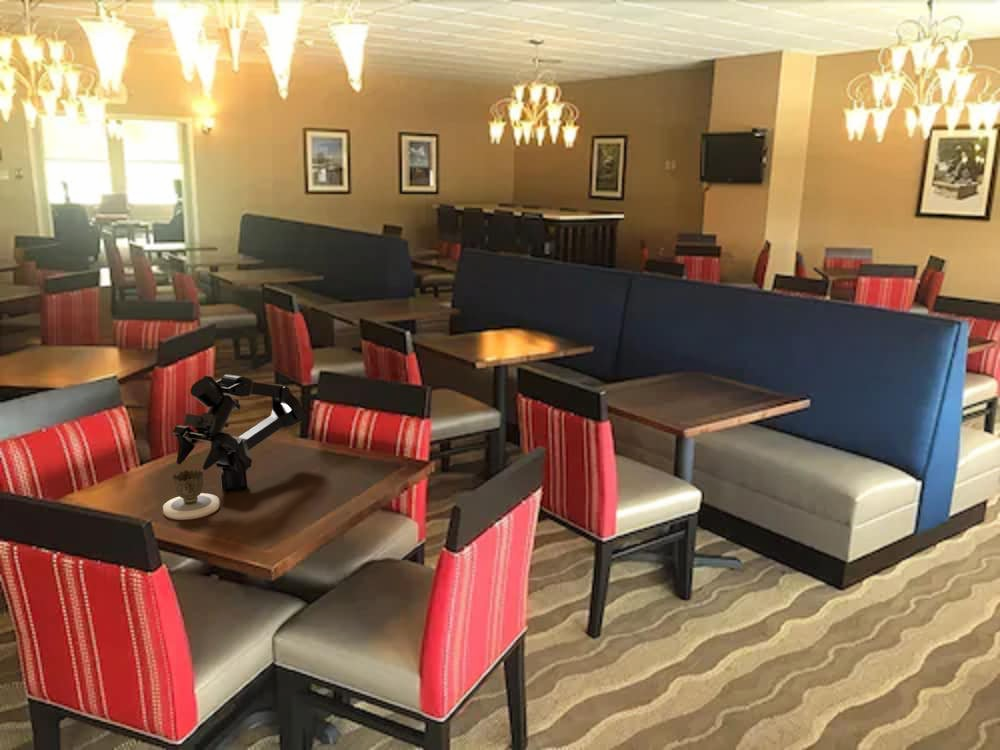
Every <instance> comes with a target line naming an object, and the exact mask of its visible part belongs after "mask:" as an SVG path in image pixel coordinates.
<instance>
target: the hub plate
mask: <svg viewBox="0 0 1000 750" xmlns="http://www.w3.org/2000/svg"><path fill="white" fill-rule="evenodd" d="M197 497H198V500H197V502H196V503H193V504H185V503H184V502H183V498H181V497H180V496H179V495H178V496H177V497H173V498H171V499H170V500H168V501H166V502H165V503H164V504H163V505H162V513H163V515H164V516H165V517H166V518H168V519H171V520H179V521H180V520H182V521H183V520H184V521H185V520H186V521H187V520H194V519H199V518H204V517H207V516H208V515H209V516H210V515H211V514H213V513H215V512H216V511H218V509H220V499H219V497H218V496H217V495H214V494H211V493H206V492H205V493H203V492H201V493H200V495H199V496H197Z"/></svg>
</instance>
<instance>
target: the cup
mask: <svg viewBox="0 0 1000 750" xmlns="http://www.w3.org/2000/svg"><path fill="white" fill-rule="evenodd" d="M172 479H173V483H174V487H175V491H176V493H177V496H178V497H179V496H180V497H181V498H183V502H184V503H185V504H193V503H196V502H197V500H198V497H197V496H199V495H200V493H202V491H203V483H204V481H203V480H204V472H203V471H202V470H198V469H196V470H193V469H191V470H190V471H189V470H187V469H184V470H183V471H179V472H178V474H172Z"/></svg>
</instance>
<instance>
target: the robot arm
mask: <svg viewBox="0 0 1000 750" xmlns="http://www.w3.org/2000/svg"><path fill="white" fill-rule="evenodd" d="M191 385H192V386H191V388H190V395H191V396H192V397H193V398H195V399H196V400H197V401H198V402H200V403H201V404H202V405H204V407H207V408H208V410H207V412H202V413H201V415H199V414H198V415H197V414H192V413H185V417H184V420H183V421H184V422H183V425H181V424H179V425H176V426H175V427H174V429H173V430H172V435H174V438H175V439H177V442H178V450H177V457H176V464H177V465H182V463H184V461H185V460H186V459H187V458H188V457H189V455H190V454H191V452H192V451H193V449H194V448H196V445H195V444H197V442H198V441H199V442H200V441H201V442H206V443H210V450H209V452H208V455H207V457H206V459H205V461H204V463H203V466H202V469H203V470H204V471H207V470H208V469H209V468H211V467H212V466H213V465H216V468H221V469H222V470H221V471H220V473H219V474H220V475H219V476H220V482H221V483H220V484H221V489H222V490H223V492H224V493H225V494H226V493H234V492H241V491H248V490H249V484H248V477H247V475H248V474H247V470H248V469H250V468H251V467H252V462H253V459H251V458H250V456H248V454H249V451H250V450H252V449H253V448H254V447H256V446H258V445H260V443H262V442H263V441H265V440H266V439H267V438H270V437H271V436H272V435H273V434H275V433H276V432H278V431H280V430H281V429H282V428H287V427H292V426H295V425H297V424H299V423H301V422H302V421H303V418H304V416H305V412H304V411H305V410H304V408H303V406H302V404H301V402H300V400H299V399H298V398H297V397H296V396H295V395H293V393H292V392H291V389H290V388H289V386H287V385H283V384H277V383H275V384H272V383H265V382H258V381H257V382H256V381H254V380H253V379H251V378H248V377H247V376H243V375H235V374H229V373H228V374H227V373H226V374H224V375H223V376H222V378H220V379H218V380H215V379H214V378H213V377H212V376H211V375H204V376H203V378H201V379H199V380H197V381H195V383H193V384H191ZM252 395H255V396H262V397H270V399H271V402H270V403H271V407H272V410H271V413H270V416H268V417H267V418H265V419H263V420H262V421H261V422H259V423H257V424H256V425H255V426H253V427H251V428H250V429H248V430H247V431H246V432H244V433H242V434H241V435H239V436H232V435H231V434H230V433H226V432H223V430H224V429H228V427H229V424H228V423H227V422H228V421H229V419H230V417H231V414H232V412H233V411H234V410H241V409H242V408H241V405H240V403H239V402H240V401H239V399H237V398H244V397H250V396H252ZM231 396H232V397H231ZM233 397H237V398H236V399H234V398H233ZM281 399H282V400H281ZM191 427H192V428H191ZM196 431H197V432H196Z"/></svg>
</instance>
